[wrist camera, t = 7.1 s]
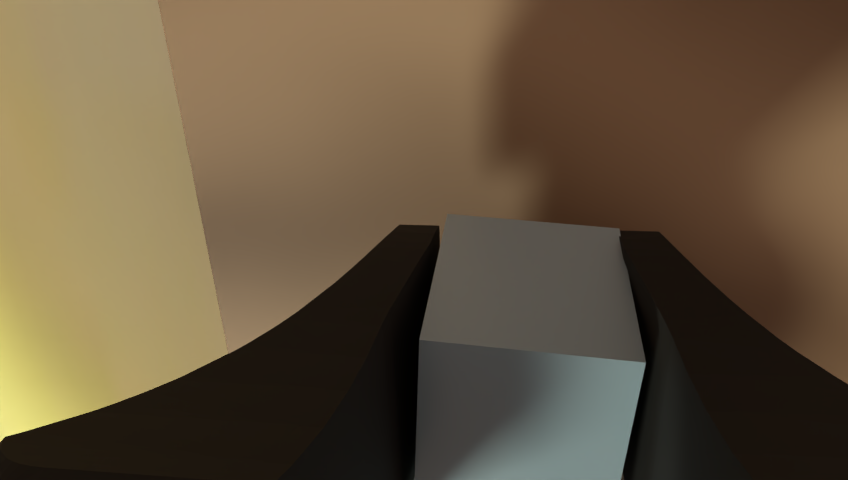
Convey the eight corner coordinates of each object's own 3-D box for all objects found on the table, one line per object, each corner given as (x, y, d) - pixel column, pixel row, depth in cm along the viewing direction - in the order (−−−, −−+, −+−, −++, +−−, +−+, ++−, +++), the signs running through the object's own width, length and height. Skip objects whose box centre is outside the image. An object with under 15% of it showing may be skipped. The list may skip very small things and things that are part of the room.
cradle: (768, 593, 18) (804, 713, 16) (282, 552, 20) (247, 655, 17) (1025, -343, 10) (1191, -395, 7) (127, -286, 11) (13, -313, 9)
